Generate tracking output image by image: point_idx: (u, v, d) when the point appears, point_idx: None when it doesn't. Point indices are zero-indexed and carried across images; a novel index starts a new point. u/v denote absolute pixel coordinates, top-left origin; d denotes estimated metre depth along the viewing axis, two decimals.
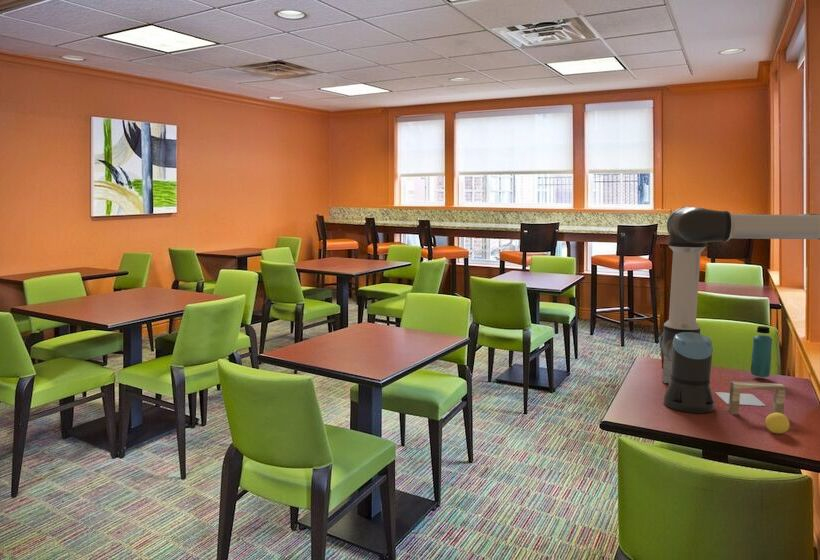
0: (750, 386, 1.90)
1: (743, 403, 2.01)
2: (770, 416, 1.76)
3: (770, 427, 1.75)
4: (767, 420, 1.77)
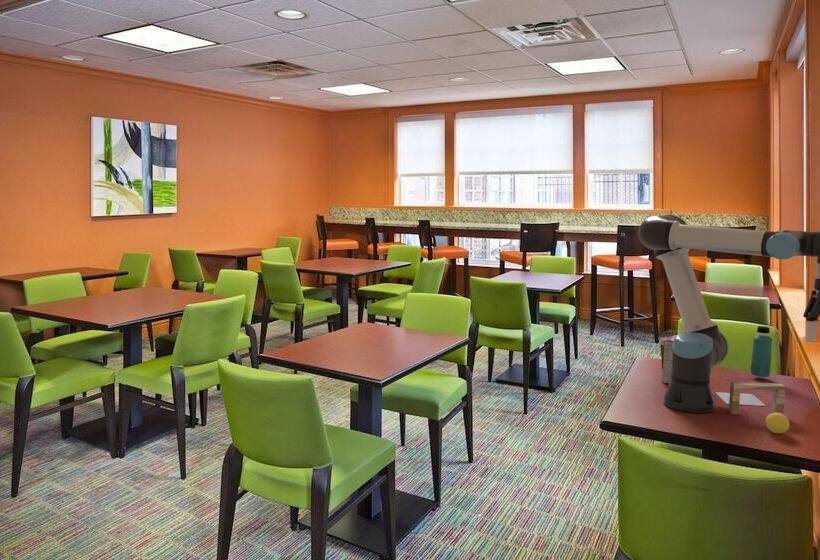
0: (750, 386, 1.90)
1: (743, 403, 2.01)
2: (770, 416, 1.76)
3: (770, 427, 1.75)
4: (767, 420, 1.77)
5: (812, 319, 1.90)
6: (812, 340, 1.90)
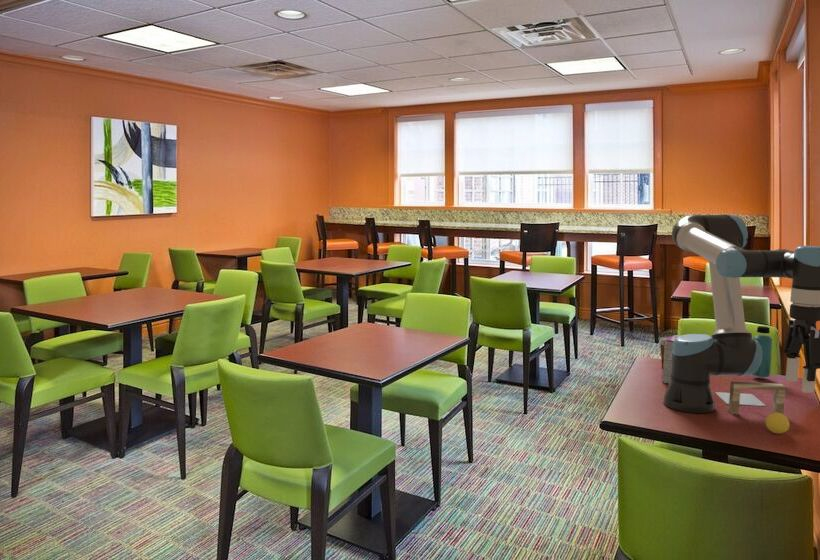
0: (750, 386, 1.90)
1: (743, 403, 2.01)
2: (770, 416, 1.76)
3: (770, 427, 1.75)
4: (767, 420, 1.77)
5: (793, 356, 1.68)
6: (793, 379, 1.68)
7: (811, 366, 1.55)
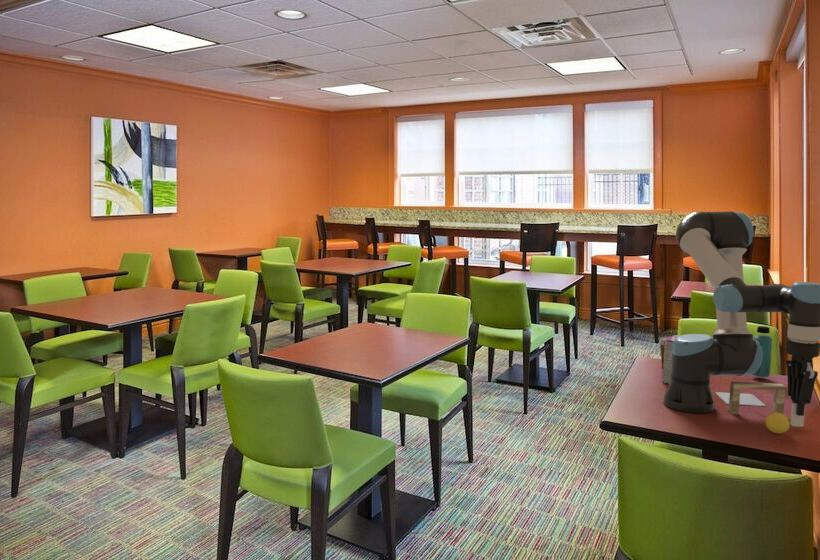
0: (750, 386, 1.90)
1: (743, 403, 2.01)
2: (770, 416, 1.76)
3: (770, 427, 1.75)
4: (767, 420, 1.77)
5: None
6: None
7: (800, 402, 1.61)
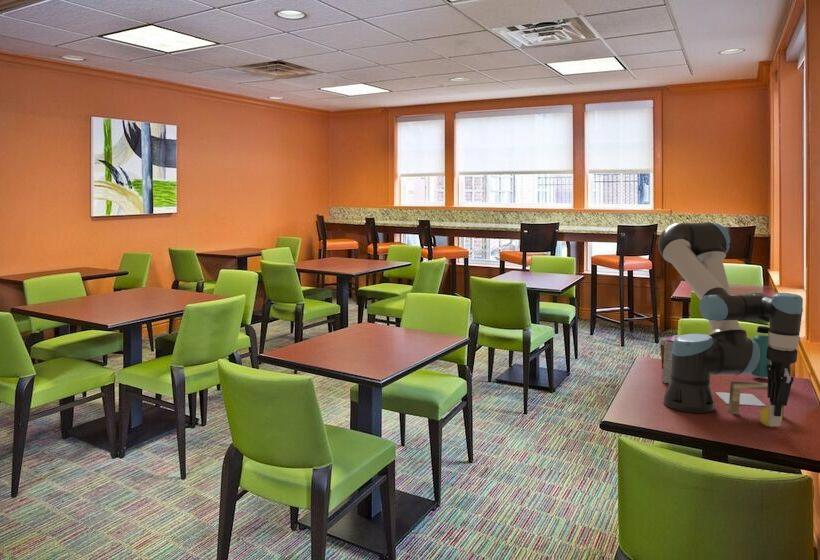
0: (750, 386, 1.90)
1: (743, 403, 2.01)
2: None
3: (764, 414, 1.80)
4: (759, 413, 1.82)
5: None
6: None
7: (777, 404, 1.74)
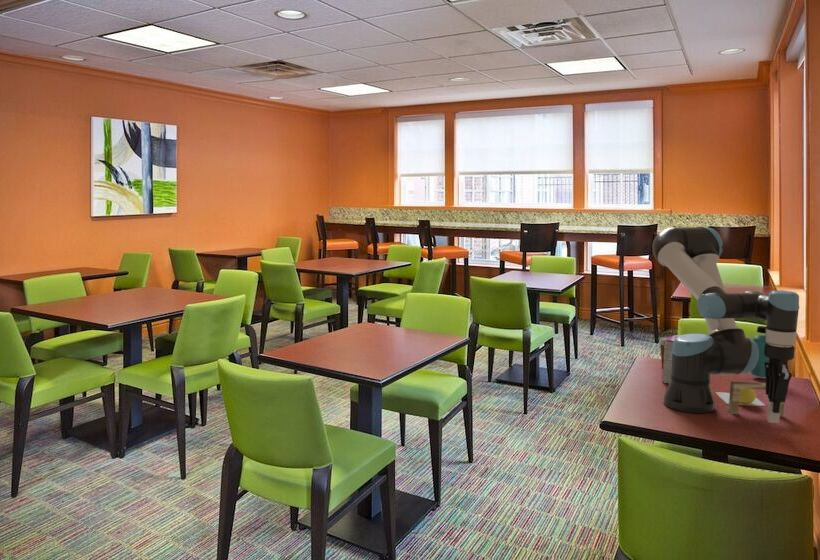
0: (750, 386, 1.90)
1: (743, 403, 2.01)
2: None
3: None
4: None
5: None
6: None
7: (775, 400, 1.75)
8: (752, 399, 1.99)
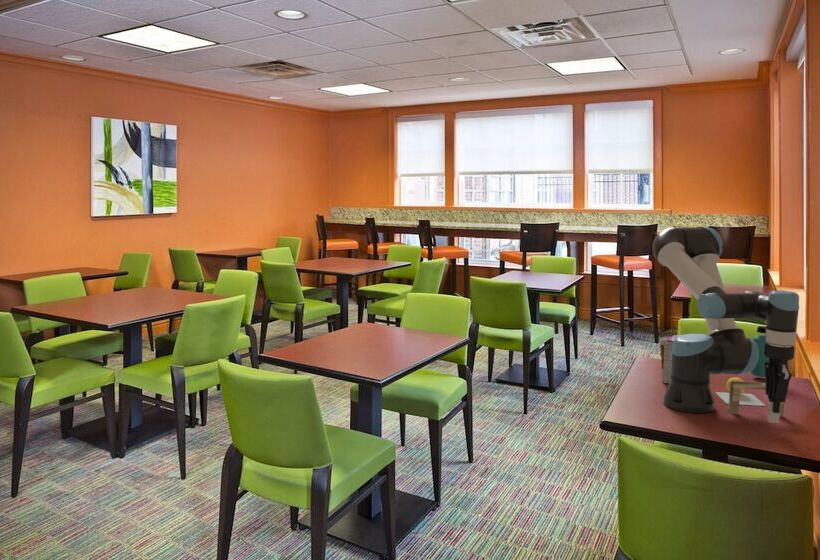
0: (750, 386, 1.90)
1: (743, 403, 2.01)
2: None
3: None
4: (727, 386, 2.11)
5: None
6: None
7: (775, 400, 1.75)
8: None
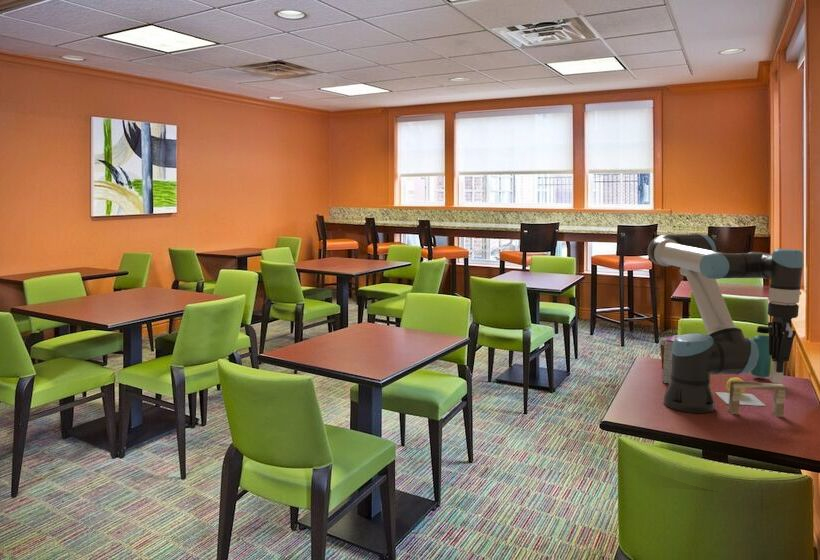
0: (750, 386, 1.90)
1: (743, 403, 2.01)
2: None
3: None
4: (727, 386, 2.11)
5: None
6: None
7: (779, 359, 1.74)
8: None
